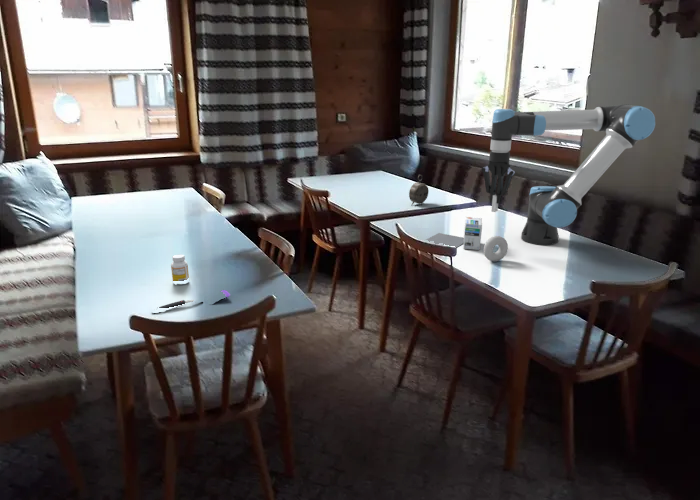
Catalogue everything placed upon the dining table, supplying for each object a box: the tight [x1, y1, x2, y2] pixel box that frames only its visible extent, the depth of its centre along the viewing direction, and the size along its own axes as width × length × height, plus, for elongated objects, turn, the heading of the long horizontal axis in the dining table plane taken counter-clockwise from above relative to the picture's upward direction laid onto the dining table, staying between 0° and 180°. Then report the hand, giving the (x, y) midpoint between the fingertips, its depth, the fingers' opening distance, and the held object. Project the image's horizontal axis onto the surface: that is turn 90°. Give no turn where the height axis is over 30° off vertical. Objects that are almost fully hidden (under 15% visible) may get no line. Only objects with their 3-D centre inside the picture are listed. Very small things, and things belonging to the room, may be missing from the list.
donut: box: [483, 235, 509, 262], centre depth 211 cm, size 10×4×10 cm, turn 109°
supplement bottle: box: [170, 254, 190, 282], centre depth 190 cm, size 5×5×10 cm
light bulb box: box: [462, 216, 483, 251], centre depth 228 cm, size 11×7×11 cm, turn 168°
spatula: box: [158, 289, 231, 308], centre depth 174 cm, size 24×7×2 cm, turn 120°
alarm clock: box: [408, 174, 429, 206], centre depth 294 cm, size 11×5×16 cm, turn 130°
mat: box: [425, 232, 464, 248], centre depth 236 cm, size 15×16×1 cm
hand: (494, 211), depth 220 cm, fingers closed
